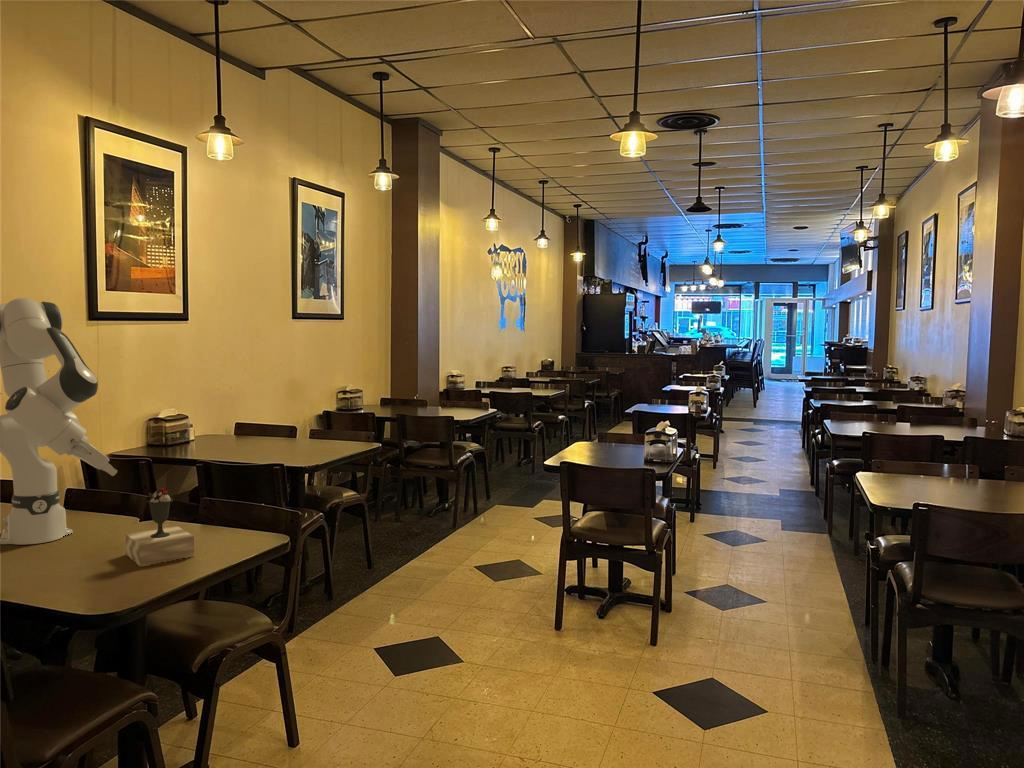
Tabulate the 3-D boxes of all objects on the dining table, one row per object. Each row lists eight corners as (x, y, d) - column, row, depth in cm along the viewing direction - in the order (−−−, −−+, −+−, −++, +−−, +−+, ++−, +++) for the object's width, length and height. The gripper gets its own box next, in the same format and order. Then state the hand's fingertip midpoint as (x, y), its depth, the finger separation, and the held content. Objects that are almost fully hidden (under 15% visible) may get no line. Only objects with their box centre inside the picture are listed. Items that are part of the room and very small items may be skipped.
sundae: (177, 535, 203) (176, 483, 202) (152, 540, 199) (151, 486, 198) (168, 531, 208) (167, 479, 207) (143, 535, 203) (142, 482, 202)
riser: (126, 554, 205) (125, 534, 204) (177, 545, 214) (177, 525, 214) (140, 566, 194) (140, 545, 194) (194, 556, 204) (193, 536, 203)
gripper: (86, 433, 181) (130, 467, 188) (68, 425, 196) (109, 457, 203) (66, 452, 178) (111, 486, 185) (49, 442, 193) (91, 474, 200)
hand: (110, 471), depth 194 cm, fingers open, 8 cm apart
